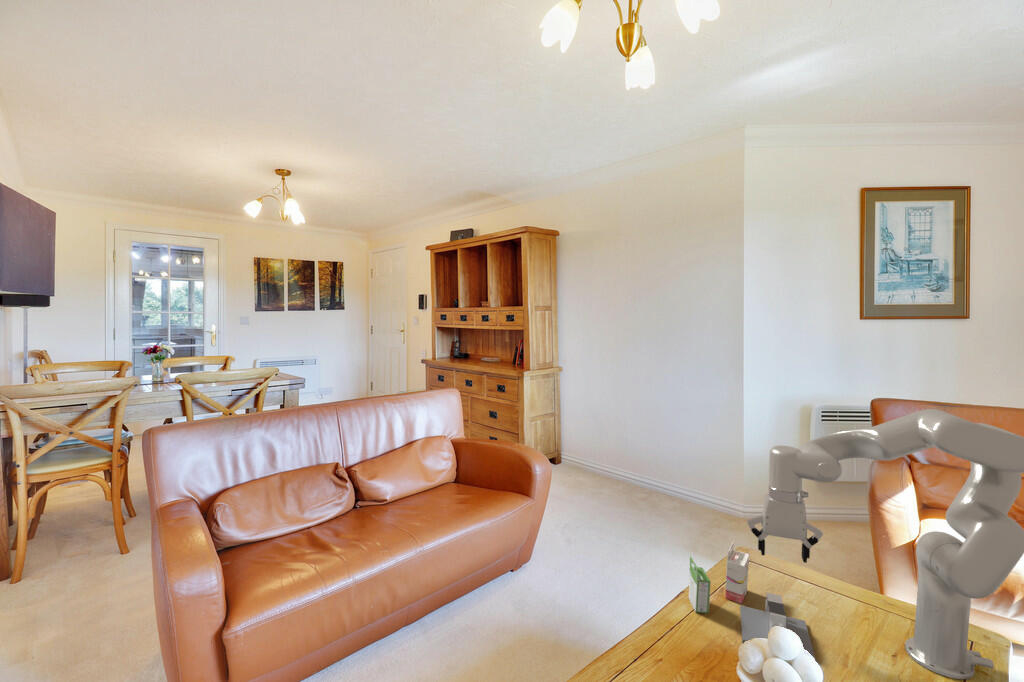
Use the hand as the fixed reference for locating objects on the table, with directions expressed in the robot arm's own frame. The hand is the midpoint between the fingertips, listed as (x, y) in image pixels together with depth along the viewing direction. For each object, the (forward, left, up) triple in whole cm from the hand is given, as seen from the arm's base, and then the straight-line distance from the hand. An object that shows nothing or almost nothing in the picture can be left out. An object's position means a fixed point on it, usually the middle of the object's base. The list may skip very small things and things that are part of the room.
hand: (783, 556), depth 124 cm
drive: (+1, +2, -20) cm, 20 cm away
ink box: (+20, -2, -21) cm, 29 cm away
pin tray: (+1, +2, -21) cm, 21 cm away
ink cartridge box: (+10, -13, -21) cm, 27 cm away
